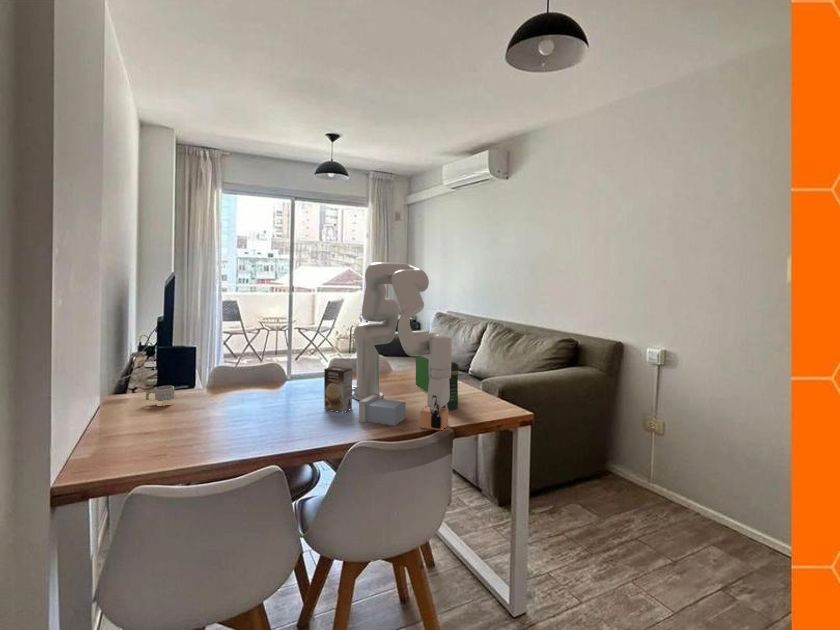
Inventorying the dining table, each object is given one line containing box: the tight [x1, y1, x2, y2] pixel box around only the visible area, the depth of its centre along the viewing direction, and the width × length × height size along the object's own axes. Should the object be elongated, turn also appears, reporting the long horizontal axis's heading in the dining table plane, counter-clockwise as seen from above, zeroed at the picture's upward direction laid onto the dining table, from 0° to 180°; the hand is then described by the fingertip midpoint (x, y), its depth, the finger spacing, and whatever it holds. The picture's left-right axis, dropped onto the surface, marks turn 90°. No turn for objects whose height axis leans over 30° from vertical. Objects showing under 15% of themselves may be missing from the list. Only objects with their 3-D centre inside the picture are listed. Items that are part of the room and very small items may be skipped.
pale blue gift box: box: [358, 394, 407, 427], centre depth 163 cm, size 14×11×7 cm
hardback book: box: [415, 355, 430, 393], centre depth 206 cm, size 18×7×24 cm, turn 22°
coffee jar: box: [435, 360, 460, 411], centre depth 179 cm, size 10×8×19 cm
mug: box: [145, 385, 175, 401], centre depth 179 cm, size 10×7×7 cm, turn 108°
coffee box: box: [323, 365, 353, 413], centre depth 174 cm, size 9×6×16 cm
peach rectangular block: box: [419, 405, 449, 431], centre depth 156 cm, size 8×6×6 cm
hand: (439, 424), depth 155 cm, fingers closed on peach rectangular block, 6 cm apart
